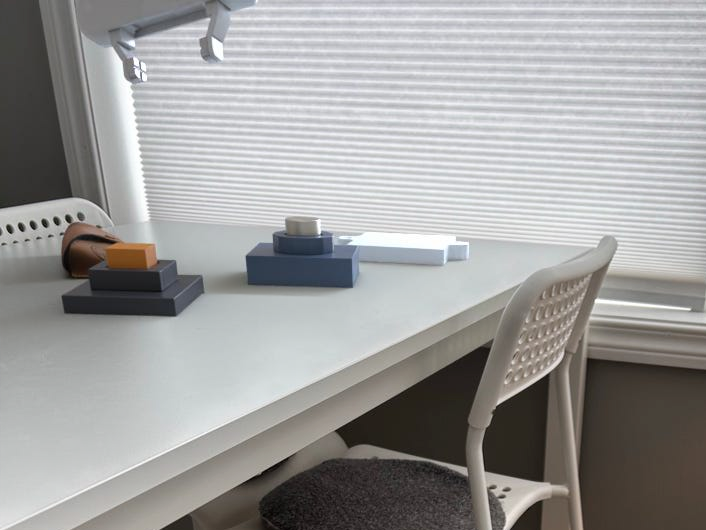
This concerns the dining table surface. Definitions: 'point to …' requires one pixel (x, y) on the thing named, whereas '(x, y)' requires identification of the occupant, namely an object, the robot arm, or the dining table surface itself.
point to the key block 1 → (134, 291)
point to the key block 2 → (303, 262)
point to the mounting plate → (407, 248)
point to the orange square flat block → (131, 255)
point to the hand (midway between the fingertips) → (173, 70)
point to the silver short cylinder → (302, 226)
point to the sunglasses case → (84, 248)
